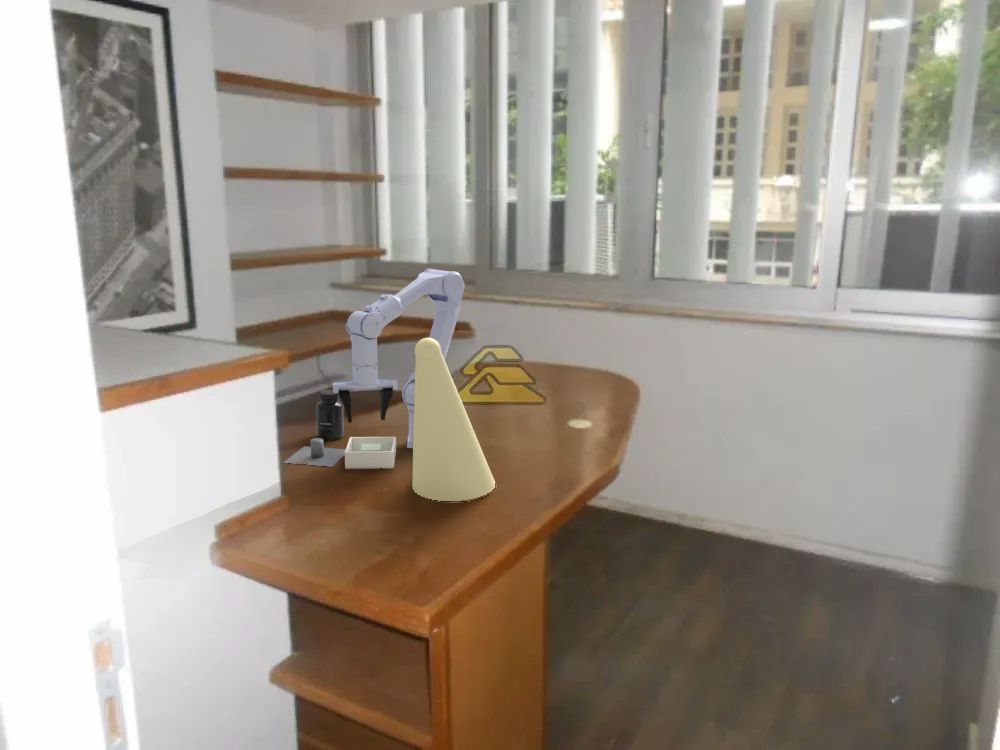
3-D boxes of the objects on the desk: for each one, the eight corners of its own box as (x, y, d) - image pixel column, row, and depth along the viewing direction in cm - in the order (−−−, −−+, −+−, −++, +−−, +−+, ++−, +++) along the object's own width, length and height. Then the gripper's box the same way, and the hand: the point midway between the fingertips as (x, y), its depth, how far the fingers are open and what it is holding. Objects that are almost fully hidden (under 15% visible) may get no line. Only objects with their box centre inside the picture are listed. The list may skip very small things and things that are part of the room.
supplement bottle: (320, 442, 190) (318, 396, 188) (314, 434, 196) (312, 390, 193) (347, 438, 194) (345, 393, 191) (339, 431, 199) (338, 387, 197)
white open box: (396, 452, 184) (395, 436, 183) (393, 468, 174) (393, 451, 173) (350, 452, 183) (350, 437, 182) (345, 468, 173) (344, 452, 172)
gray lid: (350, 452, 185) (349, 434, 184) (332, 469, 174) (331, 450, 173) (304, 449, 187) (303, 430, 186) (283, 466, 176) (281, 446, 174)
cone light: (435, 465, 176) (435, 317, 167) (508, 478, 169) (512, 324, 161) (381, 504, 153) (378, 335, 145) (463, 520, 147) (464, 344, 139)
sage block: (381, 455, 181) (381, 443, 180) (380, 461, 176) (380, 449, 176) (362, 455, 180) (362, 443, 180) (360, 462, 176) (360, 449, 175)
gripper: (393, 358, 179) (394, 413, 182) (331, 361, 174) (333, 417, 178) (398, 365, 172) (399, 421, 175) (333, 368, 168) (335, 426, 171)
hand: (366, 420), depth 176 cm, fingers open, 7 cm apart
